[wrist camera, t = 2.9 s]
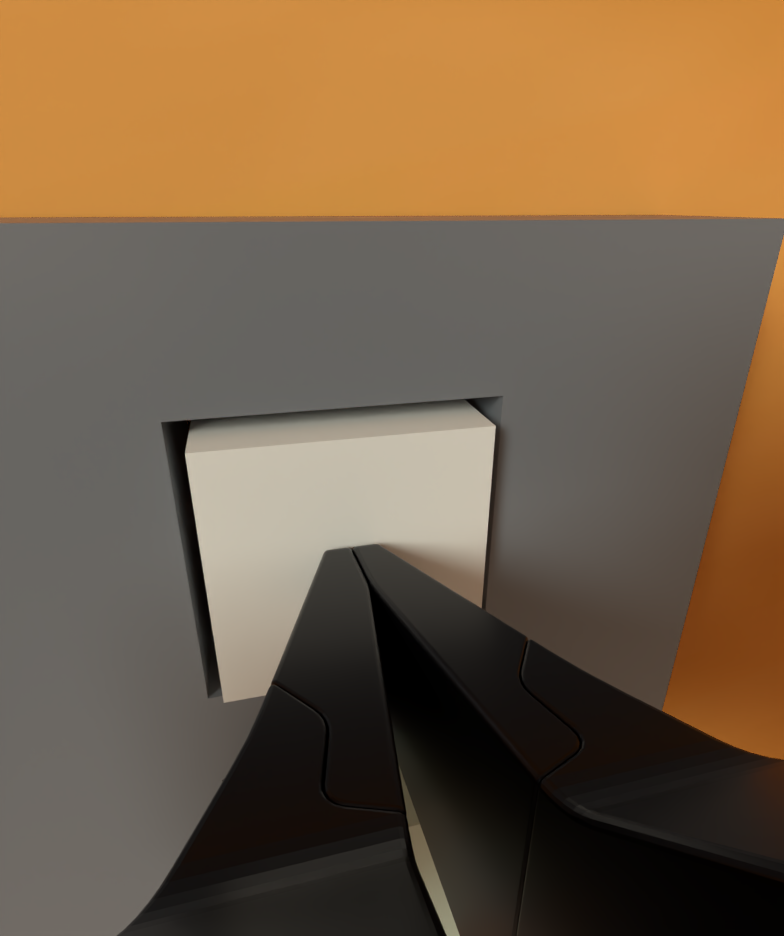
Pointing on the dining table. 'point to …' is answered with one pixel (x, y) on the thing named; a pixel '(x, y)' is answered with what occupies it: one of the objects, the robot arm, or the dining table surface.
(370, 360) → the panel
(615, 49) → the dining table surface
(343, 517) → the off white button
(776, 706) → the dining table surface
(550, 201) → the dining table surface
